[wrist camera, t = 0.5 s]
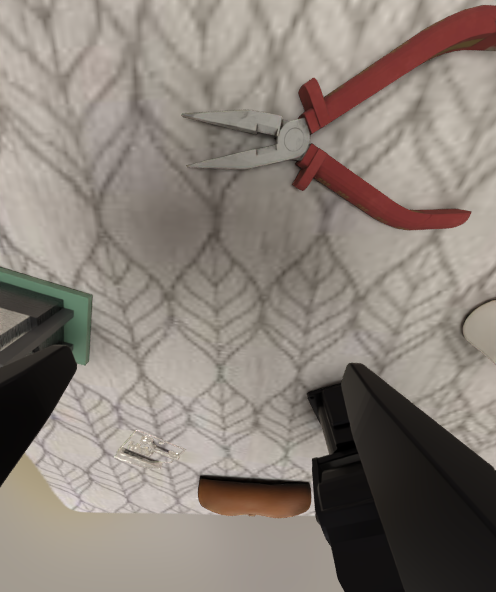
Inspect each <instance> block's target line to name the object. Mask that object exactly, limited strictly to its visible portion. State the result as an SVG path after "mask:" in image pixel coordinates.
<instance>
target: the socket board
mask: <svg viewBox="0 0 496 592" xmlns="http://www.w3.org/2000/svg"><path fill="white" fill-rule="evenodd" d="M0 281H2V282H5V283H9V284H12V285H15V286H19V287H22V288H25V289H29V290H32V291H36V292H39V293H42V294H46V295H49V296H52V297H56V298H59V299H63V300H64V308H62V309H61V310H60V311H58V312H57V313H55V314H54V315H53V316H51V317H50V318H49V319H47V320H46V321H44V322H43V323H42V324H40V325H39V326H36V327H34V328H33V329H31V330H30V331H28V332H27V333H26V334H24V335H23V336H21V337H20V338H19V339H17V340H16V341H14V342H13V343H12V344H10V345H9V346H7V347H6V348H5V349H3V350H2V351H0V367H2V366H5V365H7V364H10V363H12V362H14V361H17V360H19V359H21V358H24V357H25V356H26V355H28V354H29V353H30V352H31V351H32V350H34V349H35V348H36V347H37V346H39V345H40V344H41V343H42V342H44V341H45V340H46V339H47V338H49V337H50V336H51V335H52V334H53V333H55V332H56V331H57V330H58V329H60V328H61V327H62V326H63V325H64V342H63V343H62V344H61V345H67V346H69V347H70V348H71V350H72V352H73V355H74V358H75V360H76V363H78V364H81V365H86V364H87V363H88V362H89V347H90V328H91V309H92V295H90V294H87V293H83V292H80V291H77V290H74V289H70V288H67V287H64V286H60V285H57V284H54V283H51V282H47V281H44V280H41V279H37V278H34V277H31V276H28V275H24V274H21V273H18V272H15V271H11V270H8V269H5V268H1V267H0Z"/></svg>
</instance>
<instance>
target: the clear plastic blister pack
mask: <svg viewBox="0 0 496 592" xmlns="http://www.w3.org/2000/svg"><path fill="white" fill-rule="evenodd" d="M136 431H139V430H137V429H136V430H135V431H134V432H133V433H132V435H131V436H130V437H129V438H128V439H127V440H126V441H125V443H124V444H123V445H122V446H121V447H120V448H119V450H118V451H117V453H116V455H115V458H117V459H120V460H123V461H126V462H128V463H131V464H135V465H138V466H141V467H143V468H160V469H161V467H162V464H163V463H171V462H173V461H174V460H176V461H177V460H178V459H179V458H180V454H182V453H183V452H184V451H185V450H186V449H183V448H181V447H179V446H176V445H174V444H171V443H169V442H166V441H164V440H161V439H159V438H157V437H154V436H152V435H149V434H147V433H144V432H142V431H139V432H141V433H144V434H146V435H149V436H151V437H154V438H156V439H159V440H161V441H164V442H166V443H168V444H171V445H173V446H176V447H178V448H181V449H183V451H182V452H181V453H180V454H178V453H175V452H173V451H170V450H169V451H168V453H165V452H163V451H160V450H158V449H155V448H156V445H155V444H152V442H153V440H154V439H153V438H151V437H148V436H142V437H141V440H140V442H141V444H149V446H150V447H151V450H150V451H149V450H147V449H148V448H149V447H146V446H144V447H143V448H141V447H140V446H141V444H138V443H137V444H136V445H133V443H134V442H133V441H131V442H130V443H129V445H128V447H127V448H128V449H129V450H132V451H134V452H137V453H140V454H142V455H145V456H148V457H150V456H151V455H152V454H153V453H154V452H155V453H158V454H161V455H163V456H166V457H168V458H171V459H173V460H172V461H171V462H161V461H152V460H148V459H146V458H142V457H141V456H138V454H135V453H132V452H130V451H128V450H126V449H125V448H123V446H124V445H125V444H126V443H127V441H128V440H129V439H130V438H131V437H132V436H133V435H134V433H135V432H136ZM161 441H160V442H159V444H161V445H163V444H164V442H161Z"/></svg>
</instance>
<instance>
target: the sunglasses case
mask: <svg viewBox="0 0 496 592" xmlns="http://www.w3.org/2000/svg"><path fill="white" fill-rule="evenodd" d="M198 499H199V502H200V504H201V506H202V507H204V508H206V509H208V510H210V511H212V512H215V513H218V514H221V515H228V516H237V515H245V514H248V515H249V516H255V515H261V516H267V517H273V518H287V517H293V516H296V515H299V514H302V513H304V512H306V511H307V510H308V509H309V508H310V505H311V488H310V484H309V483H307V484H303V483H302V484H283V485H281V484H273V485H267V484H259V483H240V482H234V481H217V480H208V479H202V477H201V476H200V480H199V486H198Z"/></svg>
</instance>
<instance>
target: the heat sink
mask: <svg viewBox="0 0 496 592" xmlns="http://www.w3.org/2000/svg"><path fill="white" fill-rule="evenodd" d="M62 308H64V300H63V299H59V298H56V297H52V296H49V295H46V294H42V293H39V292H36V291H32V290H29V289H25V288H22V287H19V286H15V285H12V284H9V283H5V282H2V281H0V351H2V350H3V349H5V348H6V347H7V346H9V345H10V344H12V343H13V342H14V341H16V340H17V339H19V338H20V337H21V336H23V335H24V334H26V333H27V332H28V331H30V330H31V329H33V328H34V327H36V326H39V325H40V324H42V323H43V322H44V321H46V320H47V319H49V318H50V317H51V316H53V315H54V314H55V313H57V312H58V311H60V310H61V309H62ZM63 342H64V325H63V326H62V327H61V328H60V329H58V330H57V331H56V332H55V333H53V334H52V335H51V336H50V337H49V338H47V339H46V340H45V341H44V342H42V343H41V344H40V345H39V346H37V347H36V348H35V349H34V350H32V351H31V352H30V353H29V354H28V355H31V354H33V353H36V352H38V351H40V350H43V349H45V348H47V347H50V346H52V345H61V344H62V343H63ZM28 355H26V356H28ZM26 356H25V357H26Z"/></svg>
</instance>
